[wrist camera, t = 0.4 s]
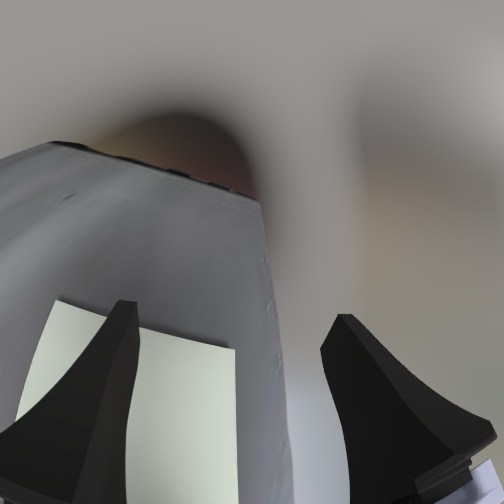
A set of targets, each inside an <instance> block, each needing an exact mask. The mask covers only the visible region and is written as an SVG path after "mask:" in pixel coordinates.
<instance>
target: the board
mask: <svg viewBox="0 0 504 504" xmlns="http://www.w3.org/2000/svg"><path fill="white" fill-rule="evenodd" d="M106 318H107V317H104V316H101V315H98V314H95V313H92V312H89V311H86V310H83V309H80V308H77V307H74V306H71V305H68V304H66V303H63V302H60V301H57V300H56V301H55V304H54V306H53V308H52V311H51V313H50V315H49V318H48V320H47V323H46V325H45V328H44V330H43V333H42V336H41V338H40V341H39V344H38V346H37V349H36V352H35V355H34V358H33V361H32V364H31V367H30V370H29V373H28V376H27V379H26V383H25V386H24V390H23V393H22V397H21V400H20V404H19V408H18V412H17V416H16V421H17V420H18V419H19V418H20V417H22V416H23V415H24V414H25V413H26V412H28V411H29V410H30V409H31V408H32V407H33V406H34V405H35V404H36V403H37V402H38V401H39V400H40V399H41V398H42V397H43V396H44V395H45V394H46V393H47V392H48V391H49V390H50V389H51V388H52V387H53V386H54V385H55V384H56V383H57V382H58V381H59V380H60V379H61V377H62V376H63V375H64V374H65V373H66V372H67V371H68V369H69V368H70V367H71V366H72V364H73V363H74V362H75V361H76V359H77V358H78V357H79V356H80V354H81V353H82V352H83V351H84V349H85V348H86V347H87V345H88V344H89V343H90V341H91V340H92V338H93V337H94V336H95V334H96V333H97V332H98V330H99V329H100V327H101V326H102V324H103V323H104V321H105V320H106ZM139 331H140V341H141V342H140V352H139V361H138V369H137V374H136V379H135V384H134V389H133V395H132V400H131V405H130V411H129V416H128V423H127V431H126V497H127V504H238V480H237V446H236V401H235V350H233V349H228V348H223V347H218V346H213V345H209V344H204V343H200V342H196V341H191V340H187V339H183V338H179V337H175V336H171V335H167V334H163V333H159V332H155V331H152V330H148V329H144V328H141V327H139ZM16 421H15V422H16Z"/></svg>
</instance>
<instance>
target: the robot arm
mask: <svg viewBox="0 0 504 504" xmlns="http://www.w3.org/2000/svg"><path fill="white" fill-rule="evenodd" d="M140 342H141V341H140V331H139V321H138V309H137V302H132V301H123V300H119V301H118V302H117V303H116V304H115V306H114V308H113V309H112V311H111V312H110V314H109V315H108V317H107V318H106V320H105V321H104V323H103V324H102V326H101V327H100V329H99V330H98V332H97V333H96V334H95V336H94V337H93V338H92V340H91V341H90V343H89V344H88V345H87V347H86V348H85V349H84V351H83V352H82V353H81V354H80V356H79V357H78V358H77V359H76V361H75V362H74V363H73V364H72V366H71V367H70V368H69V369H68V371H67V372H66V373H65V374H64V375H63V376H62V377H61V379H60V380H59V381H58V382H57V383H56V384H55V385H54V386H53V387H52V388H51V389H50V390H49V391H48V392H47V393H46V394H45V395H44V396H43V397H42V398H41V399H40V400H39V401H38V402H37V403H36V404H35V405H34V406H33V407H32V408H31V409H30V410H29V411H28V412H26V413H25V414H24V415H23V416H22V417H20V418H19V419H18V420H17V421H16V422H15V423H13V424H12V425H11V426H10V427H8V428H7V429H6V430H4V431H3V432H2V433H0V497H1V498H3V499H4V503H3V502H0V504H127V497H126V431H127V423H128V416H129V411H130V405H131V400H132V395H133V389H134V384H135V379H136V374H137V369H138V361H139V352H140ZM320 351H321V357H322V363H323V368H324V373H325V375H326V379H327V382H328V385H329V388H330V391H331V394H332V397H333V400H334V403H335V406H336V409H337V412H338V415H339V418H340V422H341V425H342V430H343V435H344V440H345V446H346V453H347V460H348V469H349V481H350V504H499V503H501V502H502V501H503V500H504V493H503V490H502V487H501V484H500V482H499V479H498V476H497V474H496V472H495V469H494V467H493V464H492V462H491V459H490V458H488V459H487V460H485V461H483V462H482V463H480V464H479V465H477V466H476V467H474V468H473V469H471V470H469V467H468V466H470V465H471V464H472V461H471V459H470V458H471V457H472V456H474V455H475V454H476V453H478V452H479V451H480V450H482V449H484V448H485V447H486V446H487V445H489V444H491V443H492V442H493V441H494V440H496V439H497V434H496V432H495V430H494V428H493V426H492V424H491V422H490V421H488V420H486V419H484V418H481V417H479V416H477V415H474V414H472V413H470V412H468V411H466V410H464V409H462V408H460V407H459V406H457V405H455V404H453V403H452V402H450V401H448V400H447V399H445V398H444V397H442V396H441V395H439V394H438V393H436V392H435V391H434V390H432V389H431V388H430V387H428V386H427V385H426V384H424V383H423V382H422V381H421V380H419V379H418V378H417V377H415V375H413V374H412V373H411V372H410V371H409V370H408V369H407V368H405V366H404V365H402V364H401V363H400V362H399V361H398V360H397V359H396V358H395V357H394V356H393V355H392V354H391V353H390V352H389V351H388V350H387V349H386V348H385V347H384V346H383V345H382V344H381V343H380V342H379V341H378V340H377V339H376V338H375V337H374V336H373V335H372V333H370V331H369V330H368V329H366V327H365V326H364V325H363V324H362V323H361V322H360V321H359V320H358V319H357V318H356V317H354V316H353V315H352V314H338V316H337V318H336V320H335V321H334V323H333V325H332V327H331V329H330V331H329V333H328V335H327V337H326V339H325V341H324V343H323V344H322V346H321V348H320Z"/></svg>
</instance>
